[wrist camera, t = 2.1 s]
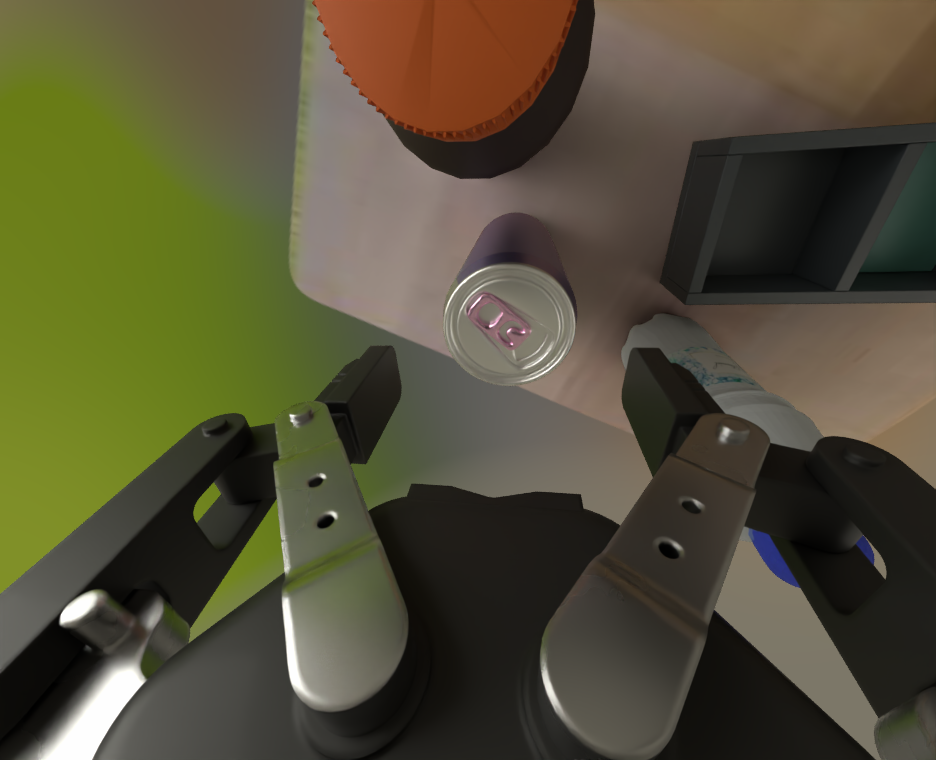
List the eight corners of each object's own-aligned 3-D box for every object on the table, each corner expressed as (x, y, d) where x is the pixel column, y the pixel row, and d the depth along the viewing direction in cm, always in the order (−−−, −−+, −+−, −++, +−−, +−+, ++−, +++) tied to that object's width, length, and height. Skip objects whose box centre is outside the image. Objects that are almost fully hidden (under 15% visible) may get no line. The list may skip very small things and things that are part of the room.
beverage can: (511, 192, 25) (501, 223, 12) (569, 248, 26) (613, 326, 14) (461, 258, 28) (412, 336, 15) (516, 304, 29) (512, 411, 17)
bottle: (718, 332, 28) (1004, 579, 12) (654, 387, 32) (802, 639, 15) (657, 288, 27) (876, 492, 10) (597, 350, 31) (689, 579, 14)
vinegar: (555, 161, 24) (639, 156, 7) (459, 179, 25) (331, 213, 8) (551, 25, 20) (700, -657, 3) (439, 55, 22) (150, -325, 5)
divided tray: (692, 141, 22) (732, 136, 18) (1022, 118, 20) (1157, 106, 15) (659, 283, 27) (684, 305, 23) (921, 278, 24) (1003, 302, 20)
